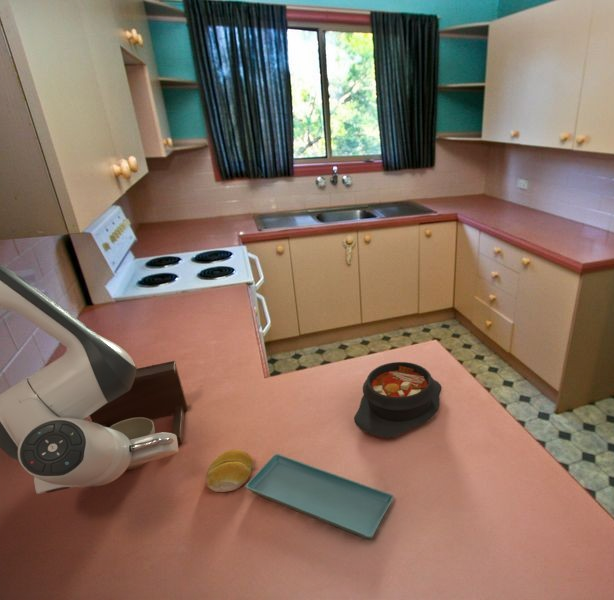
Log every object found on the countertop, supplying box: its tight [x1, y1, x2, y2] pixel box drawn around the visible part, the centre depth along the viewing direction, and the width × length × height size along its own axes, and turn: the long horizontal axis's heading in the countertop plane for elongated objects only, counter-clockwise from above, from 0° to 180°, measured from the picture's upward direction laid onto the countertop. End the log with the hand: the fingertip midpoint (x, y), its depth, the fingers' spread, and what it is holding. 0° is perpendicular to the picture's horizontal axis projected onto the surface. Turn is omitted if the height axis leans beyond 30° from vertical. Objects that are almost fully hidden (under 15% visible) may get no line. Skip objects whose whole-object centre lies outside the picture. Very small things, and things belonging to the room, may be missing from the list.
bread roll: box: [205, 449, 254, 493], centre depth 82 cm, size 8×9×4 cm
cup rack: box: [89, 360, 189, 446], centre depth 92 cm, size 14×19×13 cm
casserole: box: [353, 361, 442, 439], centre depth 99 cm, size 25×19×8 cm
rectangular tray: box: [244, 453, 395, 540], centre depth 77 cm, size 26×9×2 cm, turn 66°
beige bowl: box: [109, 417, 156, 471], centre depth 86 cm, size 10×10×7 cm
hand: (126, 461), depth 81 cm, fingers closed, pressing on beige bowl
